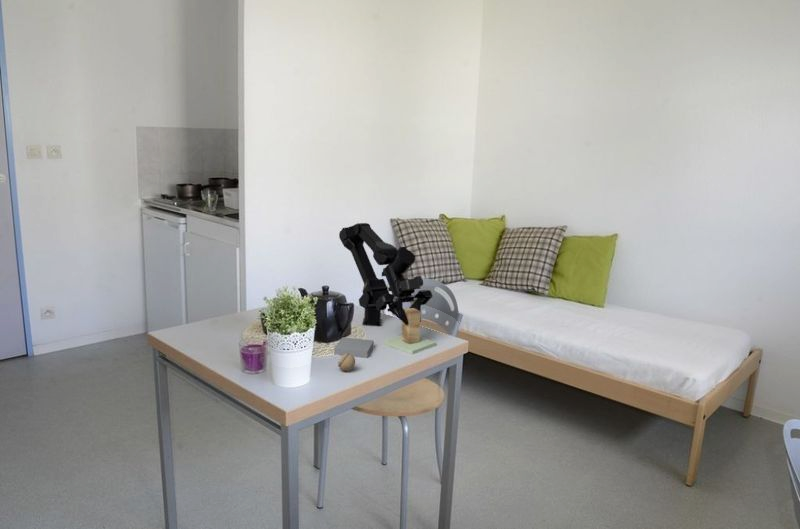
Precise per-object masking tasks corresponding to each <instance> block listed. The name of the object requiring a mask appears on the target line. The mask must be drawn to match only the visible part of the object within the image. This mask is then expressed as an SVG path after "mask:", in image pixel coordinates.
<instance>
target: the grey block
mask: <svg viewBox="0 0 800 529" xmlns="http://www.w3.org/2000/svg"><path fill="white" fill-rule="evenodd" d="M374 344H375V341H374V340H372V339H364V338H354V337H353V338H352V337H344V336H343V337H341V338H340V340H339V341H338V342H337V344H336V345H335V346H334V349H333V351H334V352H333V354H334V355H336V354H337V355H338V356H343V355H344V354H347V353H349V354H351V355H353V356H354V358H355V357H356V358H363V359H364V358H365V359H367V358H369V355H370V354H371V352H372V350H373V348H374Z"/></svg>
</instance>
